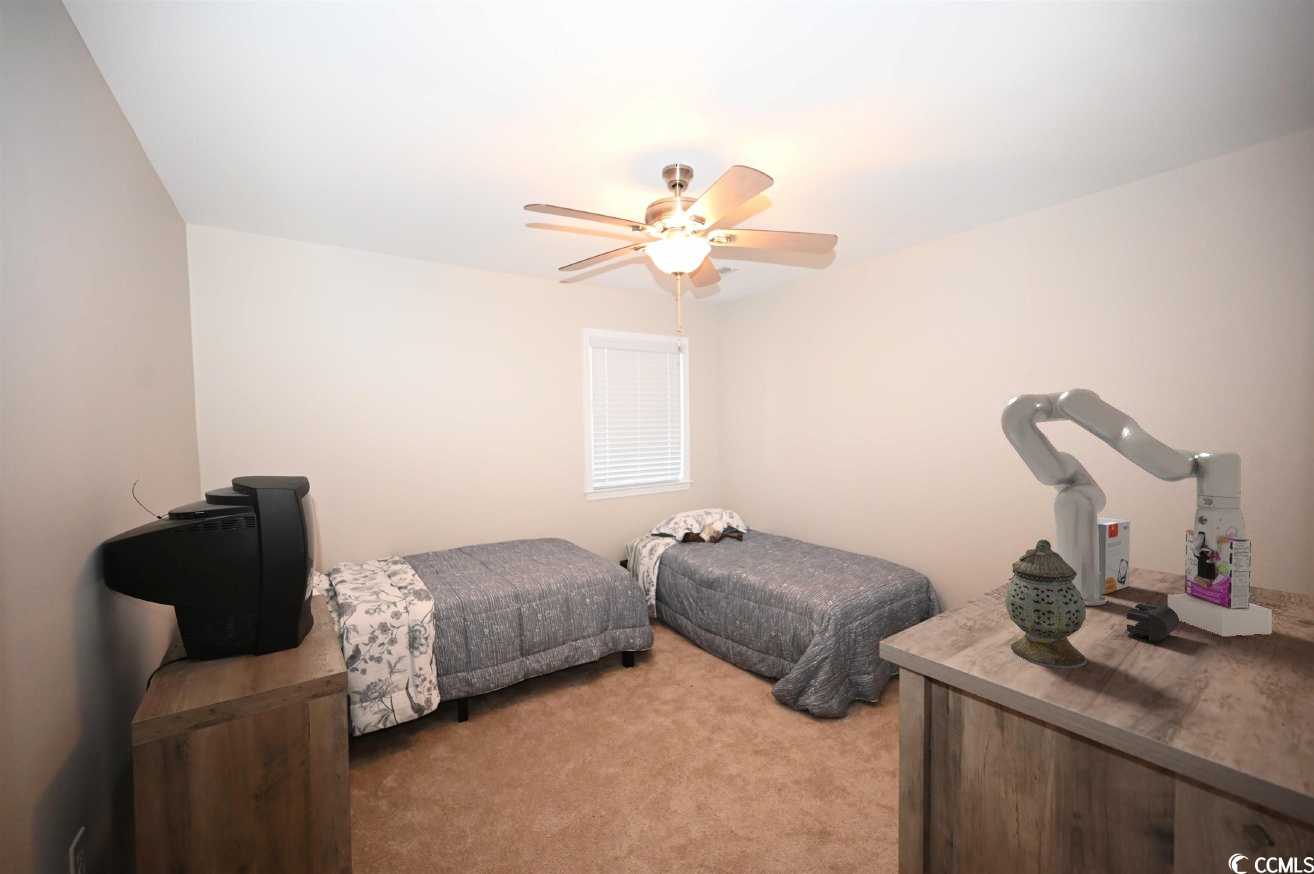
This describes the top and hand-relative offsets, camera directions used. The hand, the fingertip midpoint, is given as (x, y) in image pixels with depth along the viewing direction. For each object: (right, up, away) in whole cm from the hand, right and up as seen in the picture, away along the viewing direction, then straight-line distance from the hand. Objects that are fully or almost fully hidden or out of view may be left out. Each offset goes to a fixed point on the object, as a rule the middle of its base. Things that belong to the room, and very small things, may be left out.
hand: (1217, 576), depth 134 cm
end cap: (-21, -13, -6) cm, 25 cm away
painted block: (0, -12, 0) cm, 12 cm away
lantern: (-51, -14, -13) cm, 54 cm away
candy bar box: (0, -6, 0) cm, 6 cm away
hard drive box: (-3, -11, +31) cm, 33 cm away
